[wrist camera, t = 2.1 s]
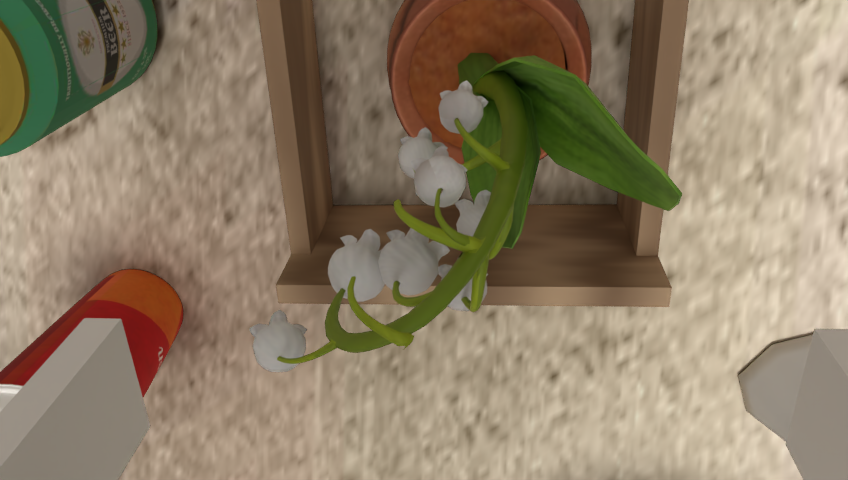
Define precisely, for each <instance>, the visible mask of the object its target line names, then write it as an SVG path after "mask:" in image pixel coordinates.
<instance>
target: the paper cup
mask: <svg viewBox="0 0 848 480" xmlns="http://www.w3.org/2000/svg"><path fill="white" fill-rule="evenodd" d="M84 318H109V319H121V320H122V323H123V327H124V331H125V334H126V338H127V342H128V345H129V349H130V353H131V356H132V360H133V364H134V367H135V371H136V375H137V378H138V382H139V386H140V389H141V393H142V397H144V395H145V393H146V392H147V390H148V388H149V386H150V384H151V382H152V381H153V379H154V377H155V375H156V373H157V371H158V370H159V368H160V366H161V364H162V362H163V360H164V358H165V357H166V355H167V353H168V351H169V349H170V347H171V345H172V343H173V341H174V340H175V338H176V336H177V334H178V331H179V329H180V327H181V324H182V321H183V307H182V303H181V301H180V298H179V297H178V295H177V293H176V292H175V291H174V289H173V288H172V287H171V286H170V285H169V284H168V283H167V282H165V281H164V280H163V279H161V278H160V277H158V276H156V275H154V274H152V273H149V272H147V271H143V270H137V269H125V270H120V271H117V272H115V273H113V274H111V275H109V276H108V277H106V278H105V279H104V280H103V281H101V282H100V283H99V284H98V285H97V286H95V287H94V288H93V289H92V290H91V291H90V292H88V293H87V294H86V295H85V296H84V297H83V298H82V299H81V300H79V301H78V302H77V303H76V304H75V305H74V306H73V307H72V308H70V309H69V310H68V311H67V312H66V313H65V314H64V315H63V316H62V317H60V318H59V319H58V320H57V321H56V322H55V323H54V324H53V325H52V326H50V327H49V328H48V329H47V330H46V331H45V332H44V333H43V334H42V335H41V336H39V337H38V338H37V339H36V340H35V341H34V342H33V343H32V344H31V345H30V346H28V347H27V348H26V349H25V350H24V351H23V352H22V353H21V354H20V355H19V356H17V357H16V358H15V359H14V360H13V361H12V362H11V363H10V364H9V365H8V366H6V367H5V368H4V369H3V370H2V371H1V372H0V412H1V411H2V409H3V408H4V407H5V406H6V405H7V404H8V403H9V402H10V401H11V399H12V398H13V397H14V396H15V395H16V394H17V393H18V392H19V391H20V389H21V388H22V387H23V386H24V385H25V384H26V383H27V382H28V380H29V379H30V378H31V377H32V376H33V375H34V374H35V373H36V372H37V370H38V369H39V368H40V367H41V366H42V365H43V364H44V363H45V361H46V360H47V359H48V358H49V357H50V356H51V355H52V354H53V353H54V351H55V350H56V349H57V348H58V347H59V346H60V345H61V344H62V343H63V341H64V340H65V339H66V338H67V337H68V336H69V335H70V334H71V332H72V331H73V330H74V329H75V328H76V327H77V326H78V325H79V324H80V322H81V321H82V320H83V319H84Z"/></svg>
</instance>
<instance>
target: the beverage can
mask: <svg viewBox="0 0 848 480" xmlns="http://www.w3.org/2000/svg"><path fill="white" fill-rule="evenodd" d="M156 42H157V19H156V12H155V7H154V4H153V1H152V0H0V157H1V156H7V155H10V154H14V153H17V152H19V151H21V150H23V149H25V148H27V147H29V146H31V145H32V144H34V143H35V142H37V141H39V140H40V139H42V138H44V137H45V136H47V135H49V134H50V133H52V132H54V131H55V130H57V129H58V128H60V127H62V126H63V125H65V124H67V123H68V122H70V121H72V120H73V119H75V118H76V117H78V116H80V115H81V114H83V113H85V112H86V111H88V110H90V109H91V108H93V107H95V106H96V105H98V104H99V103H101V102H103V101H104V100H106V99H108V98H109V97H111V96H113V95H114V94H116V93H117V92H119V91H121V90H122V89H124V88H126V87H127V86H129V85H131V84H132V83H133V82H135V81H136V80H137V79H138V78H139V77H140V76H141V75H142V74H143V73H144V72H145V70H146V69H147V67H148V66H149V64H150V62H151V60H152V58H153V55H154V52H155V49H156Z"/></svg>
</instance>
